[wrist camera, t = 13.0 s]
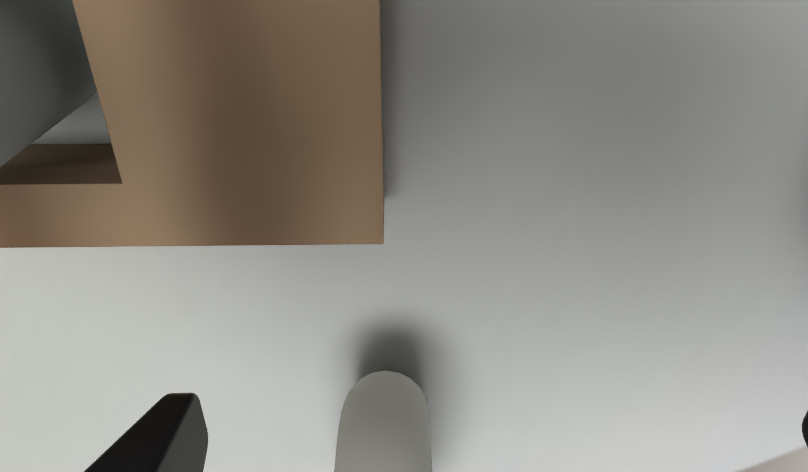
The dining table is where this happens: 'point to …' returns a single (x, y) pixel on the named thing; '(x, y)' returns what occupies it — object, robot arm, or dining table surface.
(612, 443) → the dining table surface
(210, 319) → the dining table surface
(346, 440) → the donut
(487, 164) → the dining table surface
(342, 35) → the socket block
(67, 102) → the peg
